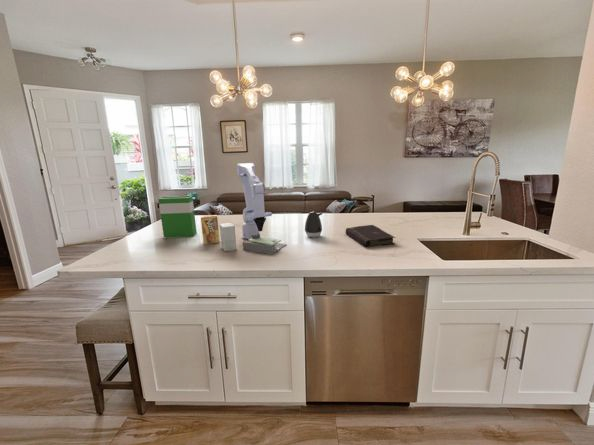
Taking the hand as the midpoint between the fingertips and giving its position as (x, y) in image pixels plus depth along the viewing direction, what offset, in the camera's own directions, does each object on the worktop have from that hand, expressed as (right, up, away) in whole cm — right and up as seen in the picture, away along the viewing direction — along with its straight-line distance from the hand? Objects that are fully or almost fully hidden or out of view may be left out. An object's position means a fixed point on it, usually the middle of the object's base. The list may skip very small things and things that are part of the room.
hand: (260, 230), depth 157 cm
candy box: (-29, -7, +9) cm, 31 cm away
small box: (-16, -9, -2) cm, 19 cm away
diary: (+61, -6, +8) cm, 62 cm away
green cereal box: (-53, -4, +24) cm, 58 cm away
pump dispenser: (+30, -4, +16) cm, 34 cm away
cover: (+3, -5, -5) cm, 8 cm away
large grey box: (+3, -9, -1) cm, 9 cm away
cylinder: (-1, -8, -5) cm, 9 cm away
